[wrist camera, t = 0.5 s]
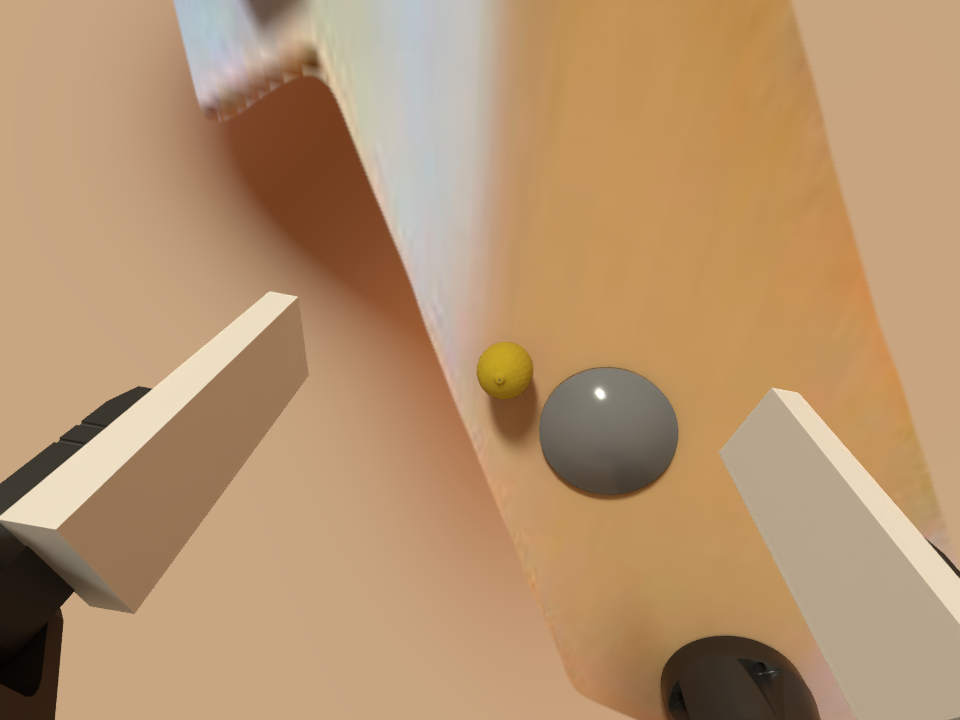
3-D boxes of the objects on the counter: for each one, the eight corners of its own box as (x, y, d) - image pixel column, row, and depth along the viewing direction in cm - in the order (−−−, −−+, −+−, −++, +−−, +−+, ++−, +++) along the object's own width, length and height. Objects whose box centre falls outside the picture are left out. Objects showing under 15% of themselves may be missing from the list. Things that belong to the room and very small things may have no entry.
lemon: (514, 396, 43) (504, 421, 35) (475, 365, 43) (457, 383, 35) (545, 358, 41) (543, 375, 34) (505, 326, 42) (493, 336, 34)
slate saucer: (703, 449, 40) (706, 453, 39) (587, 511, 44) (588, 516, 43) (625, 340, 39) (626, 342, 38) (514, 412, 43) (513, 415, 42)
